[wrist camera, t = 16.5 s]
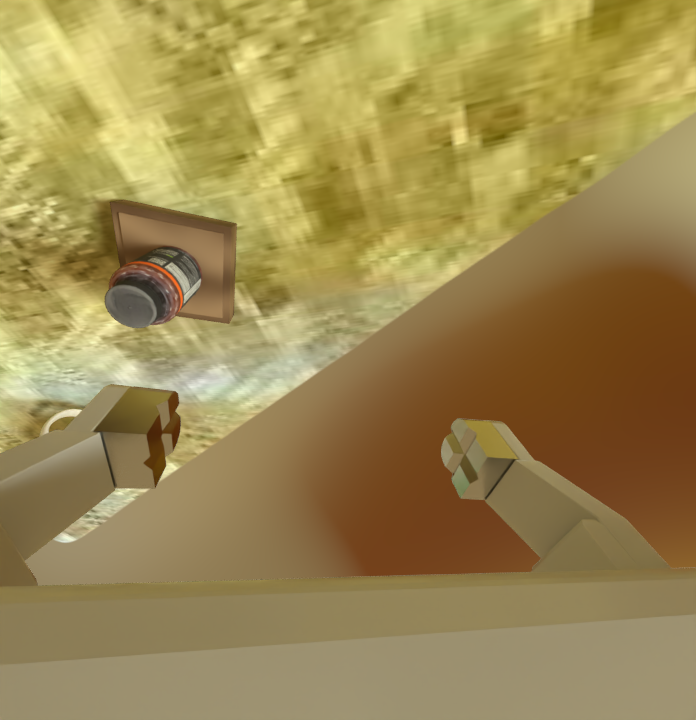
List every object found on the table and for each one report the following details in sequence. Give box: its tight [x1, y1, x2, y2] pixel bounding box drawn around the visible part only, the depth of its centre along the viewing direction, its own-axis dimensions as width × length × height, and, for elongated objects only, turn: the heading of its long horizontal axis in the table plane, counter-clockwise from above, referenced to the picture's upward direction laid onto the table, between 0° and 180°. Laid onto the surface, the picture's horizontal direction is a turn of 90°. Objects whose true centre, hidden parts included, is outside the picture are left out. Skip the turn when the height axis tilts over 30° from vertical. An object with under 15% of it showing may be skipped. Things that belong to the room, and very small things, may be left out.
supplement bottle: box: [105, 246, 202, 328], centre depth 30 cm, size 6×6×11 cm
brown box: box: [110, 200, 237, 324], centre depth 37 cm, size 12×12×3 cm
